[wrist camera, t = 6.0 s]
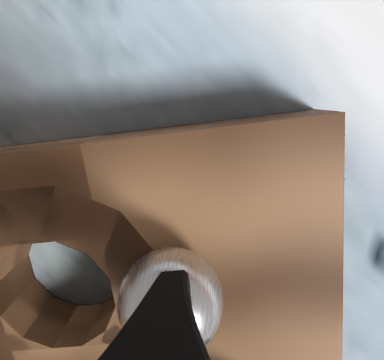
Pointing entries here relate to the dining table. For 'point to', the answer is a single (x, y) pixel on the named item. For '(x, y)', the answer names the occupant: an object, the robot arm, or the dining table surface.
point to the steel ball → (199, 286)
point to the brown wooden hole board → (184, 230)
